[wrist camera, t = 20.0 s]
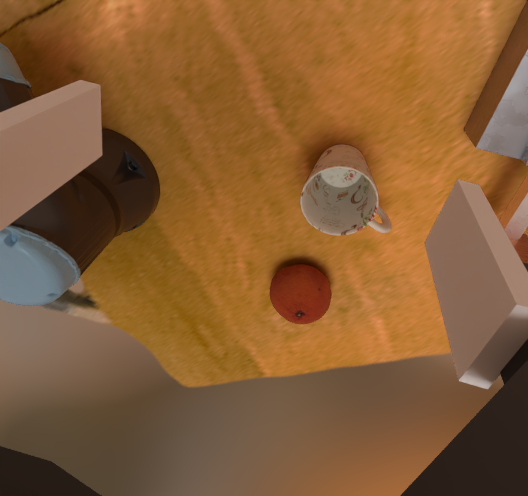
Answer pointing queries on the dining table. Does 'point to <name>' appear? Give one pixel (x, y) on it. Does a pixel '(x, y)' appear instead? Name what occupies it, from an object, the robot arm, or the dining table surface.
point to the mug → (342, 194)
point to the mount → (505, 100)
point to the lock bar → (517, 221)
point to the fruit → (300, 293)
